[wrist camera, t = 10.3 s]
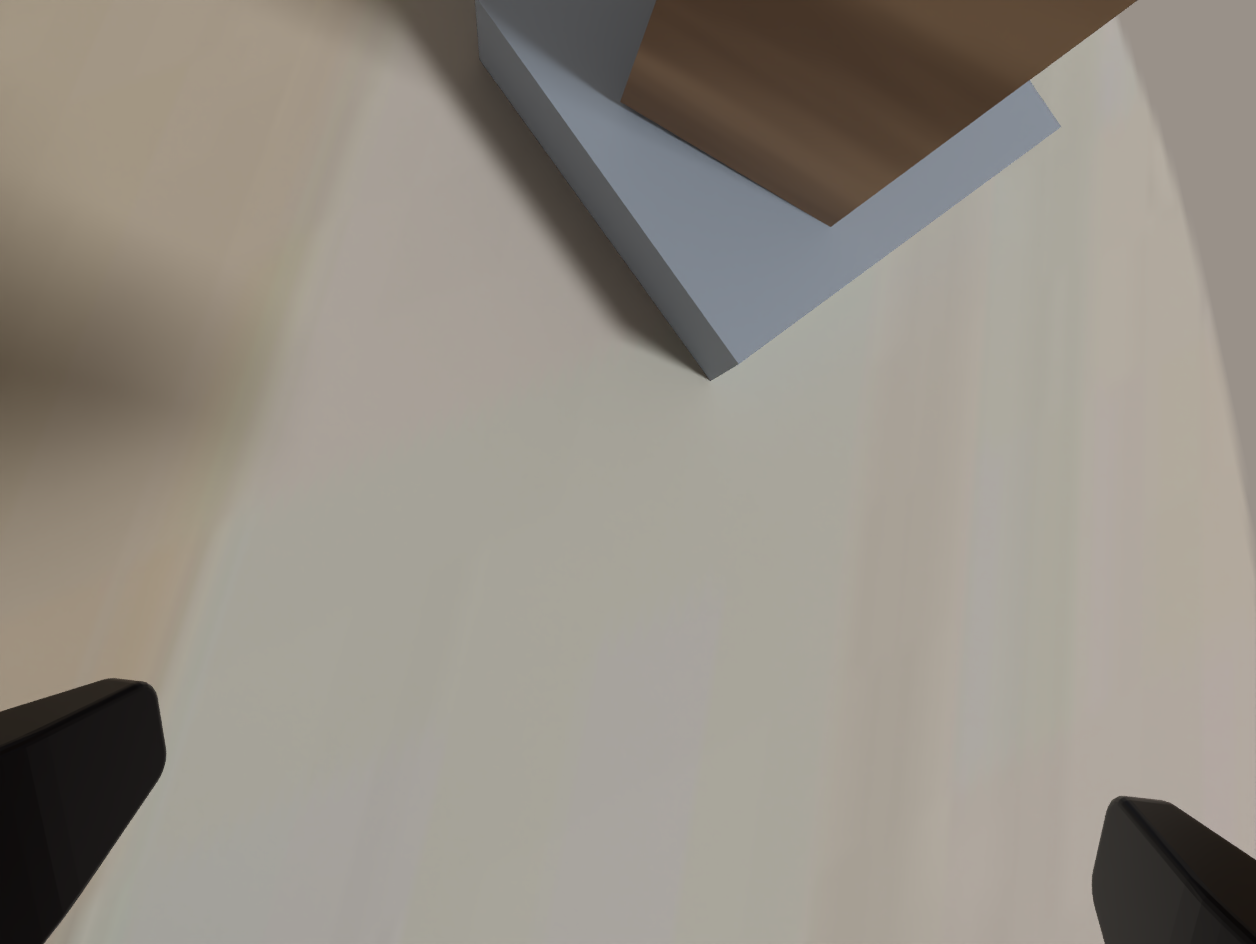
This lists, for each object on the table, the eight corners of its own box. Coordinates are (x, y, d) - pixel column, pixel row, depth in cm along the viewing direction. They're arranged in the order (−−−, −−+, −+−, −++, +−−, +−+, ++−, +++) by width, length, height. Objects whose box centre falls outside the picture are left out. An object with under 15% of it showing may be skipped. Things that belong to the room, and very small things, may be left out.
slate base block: (705, 383, 20) (738, 363, 17) (480, 71, 20) (474, -6, 17) (984, 178, 21) (1061, 126, 18) (778, -122, 21) (822, -226, 18)
